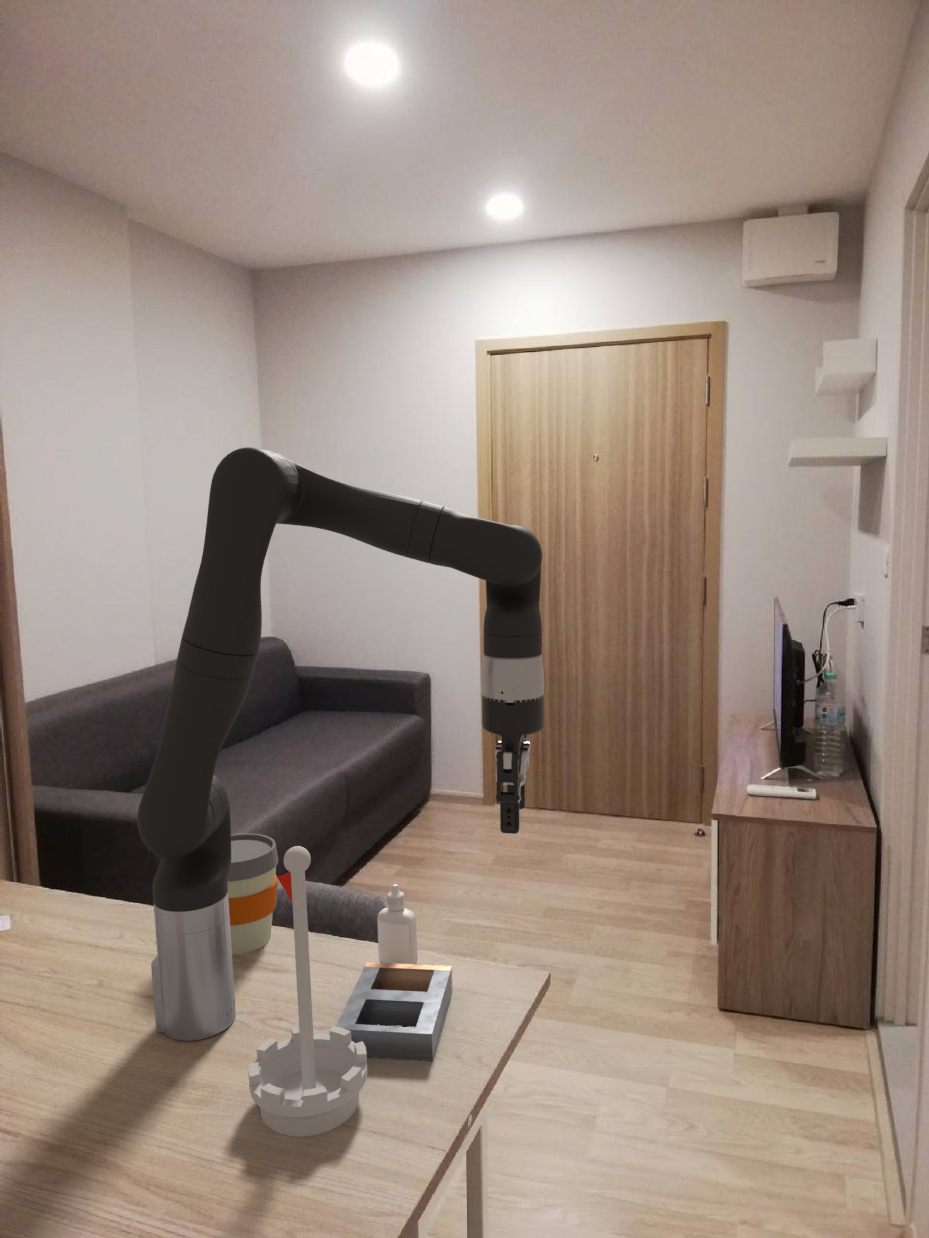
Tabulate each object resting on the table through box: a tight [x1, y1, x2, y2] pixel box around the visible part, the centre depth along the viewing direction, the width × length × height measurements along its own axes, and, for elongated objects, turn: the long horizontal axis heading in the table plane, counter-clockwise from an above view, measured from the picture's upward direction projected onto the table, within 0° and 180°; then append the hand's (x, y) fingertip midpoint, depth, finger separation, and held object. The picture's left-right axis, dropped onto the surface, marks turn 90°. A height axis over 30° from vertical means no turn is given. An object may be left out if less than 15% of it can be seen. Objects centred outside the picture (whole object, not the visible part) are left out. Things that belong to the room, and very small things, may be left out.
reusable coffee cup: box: [228, 833, 279, 955], centre depth 138 cm, size 13×13×15 cm
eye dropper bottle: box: [377, 883, 419, 964], centre depth 130 cm, size 4×6×12 cm
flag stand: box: [247, 845, 368, 1137], centre depth 99 cm, size 13×13×30 cm
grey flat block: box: [335, 961, 454, 1062], centre depth 116 cm, size 12×16×4 cm
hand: (513, 819), depth 110 cm, fingers open, 8 cm apart
